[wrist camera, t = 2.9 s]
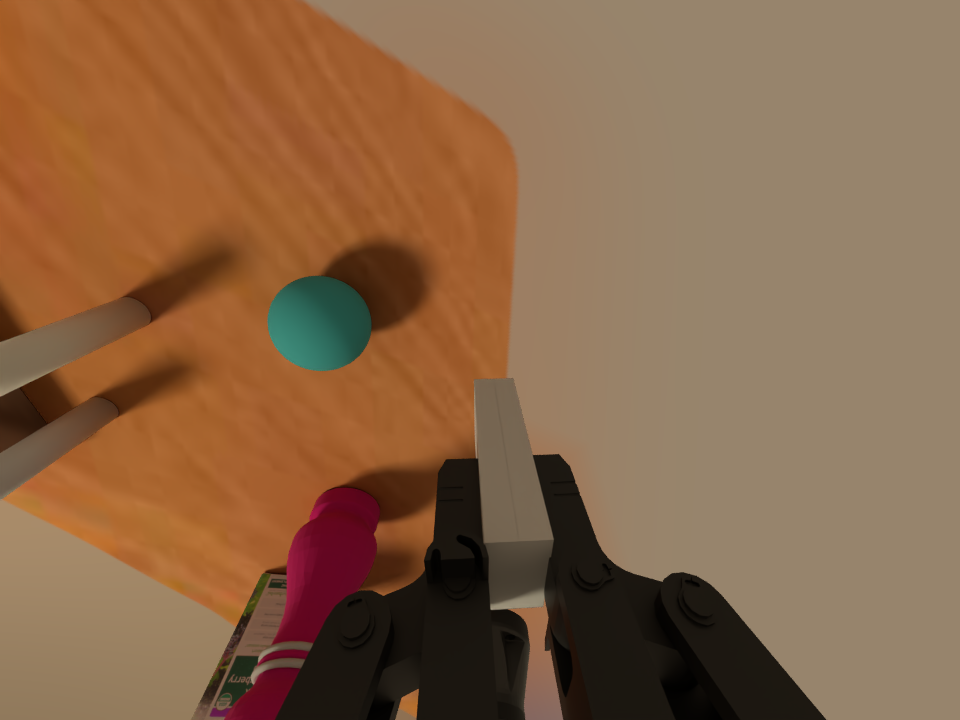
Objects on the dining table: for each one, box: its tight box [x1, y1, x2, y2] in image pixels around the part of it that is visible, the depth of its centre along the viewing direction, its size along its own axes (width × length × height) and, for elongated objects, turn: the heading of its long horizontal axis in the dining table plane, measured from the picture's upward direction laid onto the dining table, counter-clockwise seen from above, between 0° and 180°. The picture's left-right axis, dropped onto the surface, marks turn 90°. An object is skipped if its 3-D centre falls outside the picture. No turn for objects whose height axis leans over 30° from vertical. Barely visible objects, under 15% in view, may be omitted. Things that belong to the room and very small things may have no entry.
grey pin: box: [0, 397, 119, 500], centre depth 24 cm, size 2×2×9 cm
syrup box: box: [191, 573, 287, 720], centre depth 34 cm, size 6×6×14 cm
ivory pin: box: [0, 297, 151, 397], centre depth 20 cm, size 2×2×9 cm
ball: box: [268, 276, 372, 371], centre depth 22 cm, size 6×6×6 cm
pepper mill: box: [224, 487, 380, 720], centre depth 26 cm, size 7×7×20 cm
